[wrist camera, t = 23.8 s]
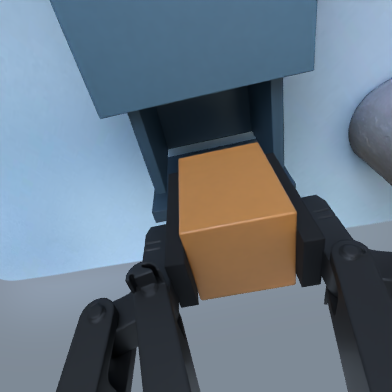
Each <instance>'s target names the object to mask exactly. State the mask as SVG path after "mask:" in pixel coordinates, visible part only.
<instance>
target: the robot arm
mask: <svg viewBox="0 0 392 392" xmlns="http://www.w3.org/2000/svg"><path fill="white" fill-rule="evenodd" d="M265 156H266V158H267V159H268V161H269V163H270V165H271V167H272V168H273V170H274V172H275V174H276V176H277V177H278V179H279V181H280V183H281V185H282V186H283V188H284V190H285V192H286V194H287V195H288V197H289V199H290V201H291V203H292V204H293V206H294V208H295V210H296V212H297V227H296V274H297V277H298V278H299V281H300V284H301V286H302V287H307V286H313V285H319V284H321V276H322V278H323V280H324V282H325V284H326V292H325V299H324V301H325V302H324V304H327V303H328V305H329V310H330V314H331V319H332V323H333V328H334V332H335V336H336V341H337V345H338V349H339V354H340V358H341V363H342V367H343V372H344V376H345V380H346V385H347V389H348V392H392V252H384V251H375V250H370V249H368V248H367V247H366V246H365V245H364V244H362V243H360V242H358V241H355V240H353V238H352V237H351V236H350V234H349V233H348V232H347V230H346V229H345V227H344V226H343V225H342V223H341V222H340V220H339V219H338V218H337V216H335V213H334V212H333V211H332V210H331V208H330V207H329V205H328V204H327V202H326V201H325V200H323V199H322V198H320V197H319V196H317V195H313V196H307V197H302V198H301V197H300V195H299V194H298V192H297V190H296V189H295V187H294V186H293V184H292V182H291V181H290V179H289V177H288V176H287V174H286V172H285V171H284V169H283V167H282V166H281V164H280V163H279V161H278V159H277V158H276V156H275V154H274V153H269V154H265ZM126 283H127V285H128V286H129V288H130V290H131V292H130V293H129V294H128V295H126V296H124V297H122V298H120V299H118V300H116V301H114V302H112V301H111V300H109V299H107V298H100V299H96V300H94V301H92V302H91V303H90V304H88V305H87V306H86V307H85V309H84V310H83V311H82V314H81V315H80V318H79V321H78V324H77V327H76V330H75V334H74V337H73V340H72V343H71V346H70V349H69V352H68V355H67V359H66V362H65V365H64V368H63V371H62V375H61V378H60V381H59V384H58V387H57V390H56V392H131V386H132V379H133V370H134V363H135V356H136V348H137V347H139V356H140V366H141V376H142V385H143V392H200V388H199V385H198V381H197V377H196V373H195V369H194V365H193V362H192V357H191V353H190V349H189V346H188V342H187V338H186V334H185V330H184V326H183V323H182V319H181V316H180V313H179V303H180V306H181V307H187V306H194V305H198V304H199V303H198V289H197V286H196V283H195V280H194V277H193V274H192V271H191V268H190V265H189V262H188V259H187V256H186V253H185V250H184V247H183V245H182V242H181V239H180V236H179V172H177V173H172V174H169V177H168V198H167V220H166V224H165V225H160V226H155V227H151V228H150V230H149V231H148V233H147V234H146V239H145V247H144V254H143V262H140V263H138V264H136V265H134V266H133V267H132V268H131V269H130V270H129V272H128V273H127V275H126Z"/></svg>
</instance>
